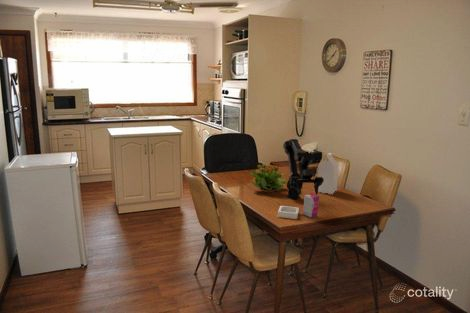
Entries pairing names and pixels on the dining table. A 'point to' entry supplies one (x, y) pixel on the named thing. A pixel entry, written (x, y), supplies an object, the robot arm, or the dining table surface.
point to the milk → (328, 175)
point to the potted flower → (268, 179)
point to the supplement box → (310, 205)
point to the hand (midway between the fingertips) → (308, 194)
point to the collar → (288, 212)
